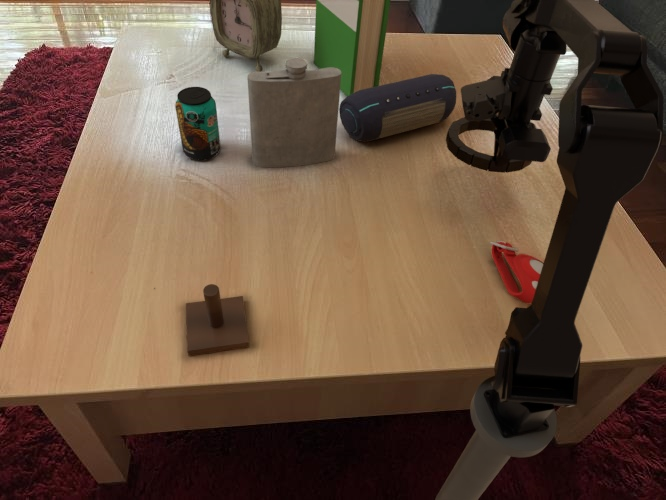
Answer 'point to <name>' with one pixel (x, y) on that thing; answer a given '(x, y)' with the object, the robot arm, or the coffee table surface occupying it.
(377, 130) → the portable speaker
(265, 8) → the tabletop clock
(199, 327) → the post
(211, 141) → the beverage can
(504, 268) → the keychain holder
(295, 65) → the hip flask
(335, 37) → the hardback book
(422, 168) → the coffee table surface
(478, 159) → the ring
